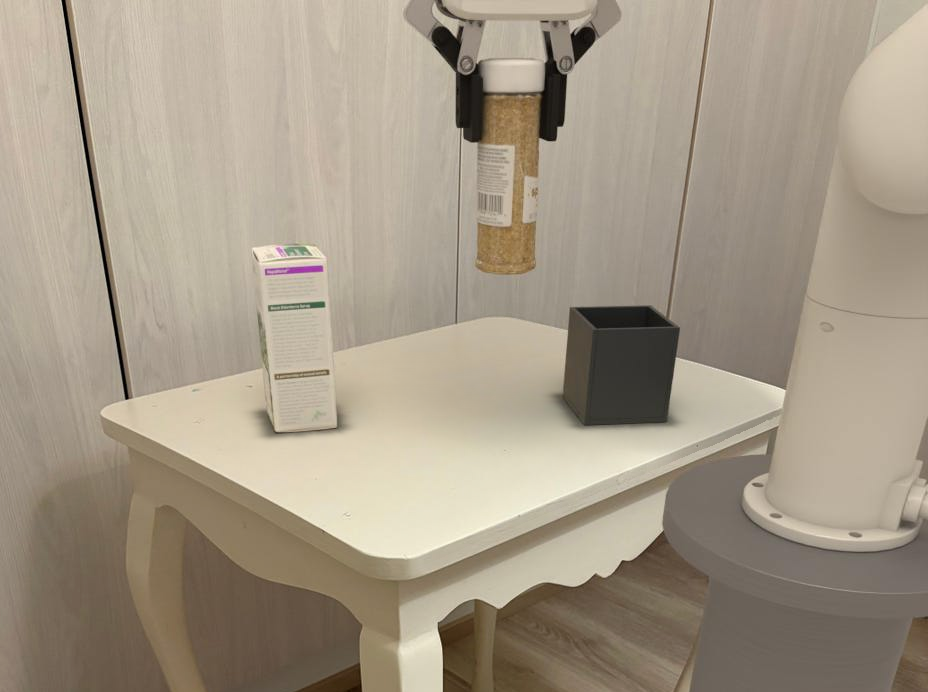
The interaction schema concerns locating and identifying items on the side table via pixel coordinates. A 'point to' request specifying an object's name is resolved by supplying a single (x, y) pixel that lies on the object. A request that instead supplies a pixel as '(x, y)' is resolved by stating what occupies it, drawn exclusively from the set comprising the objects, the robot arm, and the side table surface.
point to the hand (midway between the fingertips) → (509, 136)
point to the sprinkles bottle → (508, 164)
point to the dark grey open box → (619, 364)
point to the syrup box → (295, 336)
